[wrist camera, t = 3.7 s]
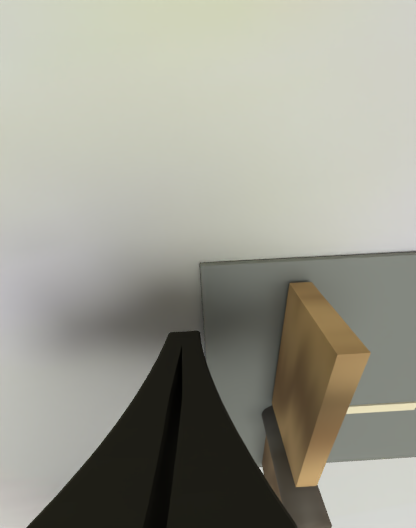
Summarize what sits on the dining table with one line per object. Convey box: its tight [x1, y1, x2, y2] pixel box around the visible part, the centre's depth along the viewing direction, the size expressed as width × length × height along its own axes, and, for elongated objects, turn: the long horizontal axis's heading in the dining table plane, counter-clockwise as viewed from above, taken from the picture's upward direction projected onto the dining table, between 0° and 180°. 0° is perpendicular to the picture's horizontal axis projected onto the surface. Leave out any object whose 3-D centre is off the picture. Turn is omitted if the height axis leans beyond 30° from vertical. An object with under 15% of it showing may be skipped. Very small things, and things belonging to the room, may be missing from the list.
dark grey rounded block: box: [262, 406, 332, 528], centre depth 14 cm, size 8×2×5 cm, turn 2°
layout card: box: [200, 252, 416, 467], centre depth 14 cm, size 19×17×1 cm
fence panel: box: [272, 282, 371, 487], centre depth 11 cm, size 9×1×4 cm, turn 2°
